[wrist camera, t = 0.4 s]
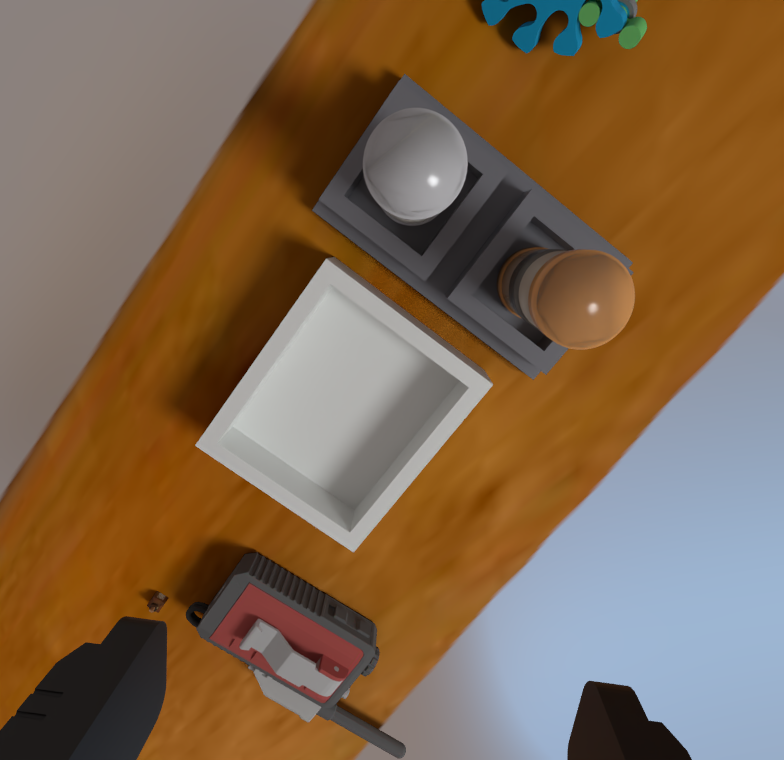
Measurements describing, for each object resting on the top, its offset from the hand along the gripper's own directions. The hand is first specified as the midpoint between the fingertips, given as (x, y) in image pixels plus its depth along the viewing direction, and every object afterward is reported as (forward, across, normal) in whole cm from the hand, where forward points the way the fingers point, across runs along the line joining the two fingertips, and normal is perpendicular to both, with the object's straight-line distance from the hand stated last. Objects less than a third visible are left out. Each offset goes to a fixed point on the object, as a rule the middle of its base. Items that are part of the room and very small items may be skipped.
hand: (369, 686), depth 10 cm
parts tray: (+26, +3, +3) cm, 26 cm away
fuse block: (+26, -3, -8) cm, 28 cm away
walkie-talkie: (+26, +3, +23) cm, 34 cm away
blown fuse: (+25, -7, -6) cm, 27 cm away
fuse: (+25, +1, -11) cm, 27 cm away
